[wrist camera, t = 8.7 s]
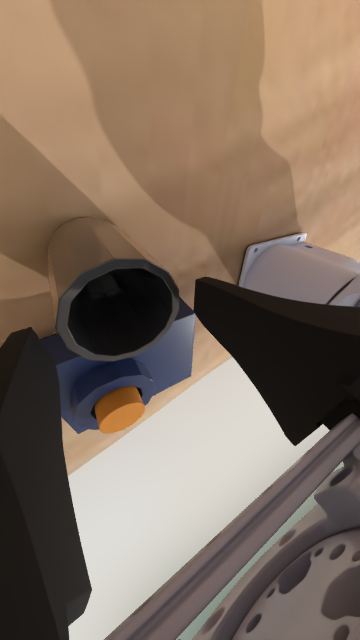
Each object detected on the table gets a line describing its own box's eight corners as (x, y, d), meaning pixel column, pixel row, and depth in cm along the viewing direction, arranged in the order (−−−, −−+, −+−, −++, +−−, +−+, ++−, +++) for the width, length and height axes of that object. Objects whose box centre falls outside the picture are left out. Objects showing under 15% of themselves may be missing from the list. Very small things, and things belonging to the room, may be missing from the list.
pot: (125, 210, 12) (179, 245, 8) (137, 285, 16) (179, 338, 12) (28, 222, 10) (25, 277, 6) (67, 304, 14) (84, 377, 9)
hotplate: (178, 295, 19) (207, 324, 16) (178, 357, 26) (199, 387, 22) (24, 344, 14) (21, 401, 11) (73, 405, 21) (81, 453, 17)
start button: (134, 378, 16) (142, 396, 14) (140, 399, 18) (147, 416, 17) (88, 399, 14) (92, 421, 13) (101, 419, 17) (105, 439, 16)
